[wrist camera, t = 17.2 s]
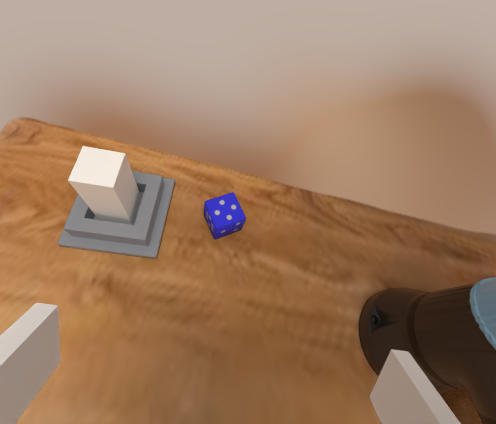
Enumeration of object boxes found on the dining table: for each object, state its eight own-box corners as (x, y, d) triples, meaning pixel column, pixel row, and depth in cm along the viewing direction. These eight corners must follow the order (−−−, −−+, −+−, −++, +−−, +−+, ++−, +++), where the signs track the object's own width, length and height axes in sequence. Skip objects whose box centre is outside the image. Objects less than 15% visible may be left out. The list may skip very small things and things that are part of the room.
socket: (175, 182, 48) (173, 169, 45) (156, 259, 42) (153, 251, 39) (92, 168, 47) (83, 154, 43) (60, 246, 41) (47, 237, 37)
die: (230, 205, 49) (233, 191, 44) (241, 229, 47) (246, 218, 42) (203, 214, 47) (204, 200, 42) (214, 240, 45) (216, 229, 41)
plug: (141, 198, 45) (125, 153, 34) (133, 225, 43) (113, 187, 32) (109, 193, 44) (83, 146, 34) (99, 221, 42) (67, 180, 31)
